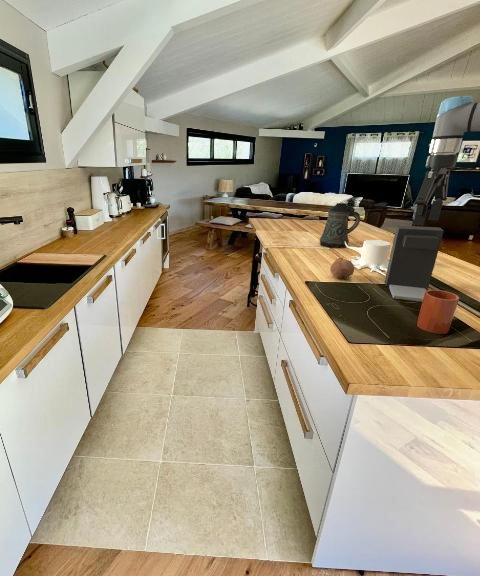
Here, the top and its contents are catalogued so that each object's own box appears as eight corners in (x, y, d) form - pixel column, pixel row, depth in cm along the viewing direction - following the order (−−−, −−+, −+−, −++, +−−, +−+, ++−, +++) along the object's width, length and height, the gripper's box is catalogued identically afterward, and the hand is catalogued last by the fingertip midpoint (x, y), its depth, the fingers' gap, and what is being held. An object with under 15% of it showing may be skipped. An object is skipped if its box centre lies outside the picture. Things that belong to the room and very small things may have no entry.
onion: (332, 281, 143) (329, 260, 144) (355, 278, 139) (351, 256, 140) (331, 281, 134) (328, 258, 135) (356, 277, 130) (352, 254, 131)
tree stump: (332, 265, 155) (335, 243, 151) (352, 253, 173) (356, 233, 169) (395, 278, 137) (401, 252, 133) (411, 263, 155) (416, 240, 151)
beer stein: (315, 242, 200) (320, 202, 191) (346, 241, 199) (352, 201, 190) (324, 248, 185) (330, 205, 176) (358, 248, 184) (365, 204, 175)
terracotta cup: (444, 323, 98) (454, 291, 94) (452, 336, 92) (463, 301, 88) (414, 319, 101) (422, 288, 97) (419, 331, 95) (428, 297, 91)
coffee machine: (423, 286, 127) (439, 227, 119) (434, 303, 112) (453, 237, 103) (384, 282, 133) (396, 225, 124) (389, 297, 118) (404, 234, 109)
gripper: (442, 154, 107) (426, 217, 115) (413, 155, 93) (397, 226, 101) (470, 153, 102) (451, 219, 110) (443, 154, 88) (424, 229, 96)
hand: (425, 222), depth 106 cm, fingers open, 13 cm apart
